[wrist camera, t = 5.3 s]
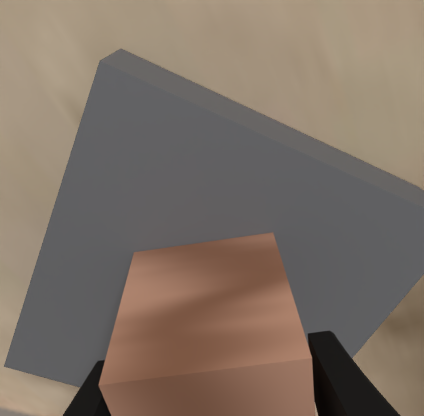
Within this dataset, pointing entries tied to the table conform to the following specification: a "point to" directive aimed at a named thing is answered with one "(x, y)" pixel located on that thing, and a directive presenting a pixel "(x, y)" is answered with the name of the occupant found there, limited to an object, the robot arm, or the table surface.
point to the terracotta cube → (209, 335)
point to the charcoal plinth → (208, 215)
